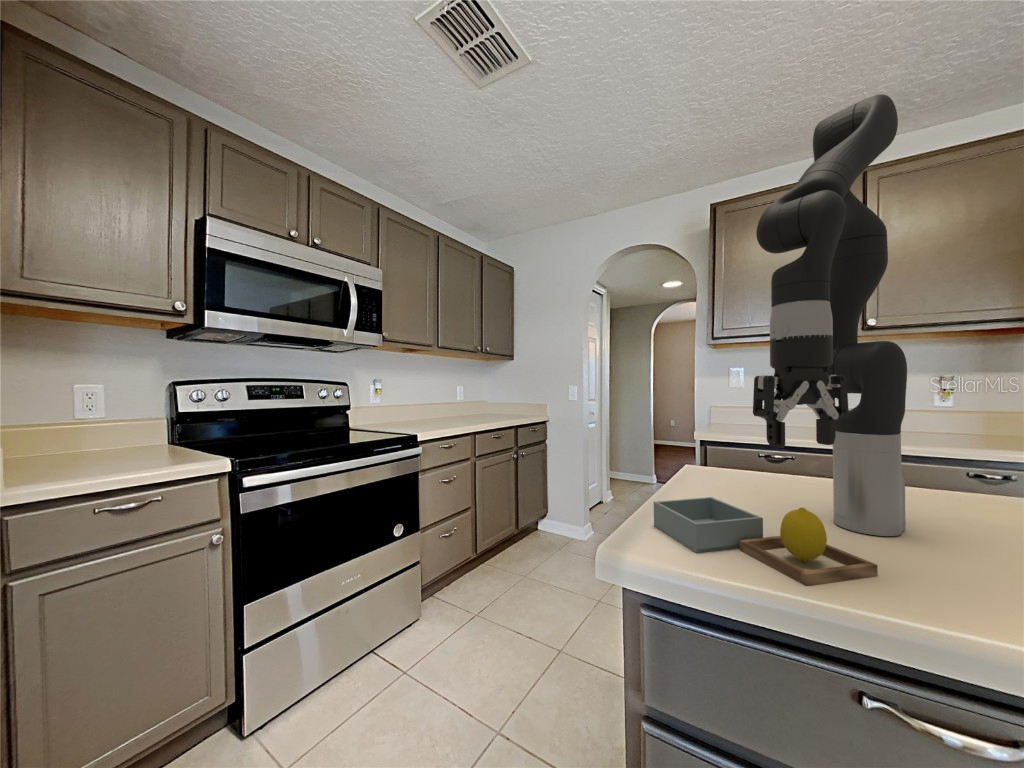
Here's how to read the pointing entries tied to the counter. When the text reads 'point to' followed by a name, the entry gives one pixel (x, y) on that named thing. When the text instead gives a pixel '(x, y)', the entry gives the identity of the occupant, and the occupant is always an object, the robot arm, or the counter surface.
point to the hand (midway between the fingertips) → (801, 445)
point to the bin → (706, 523)
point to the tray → (812, 577)
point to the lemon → (803, 534)
